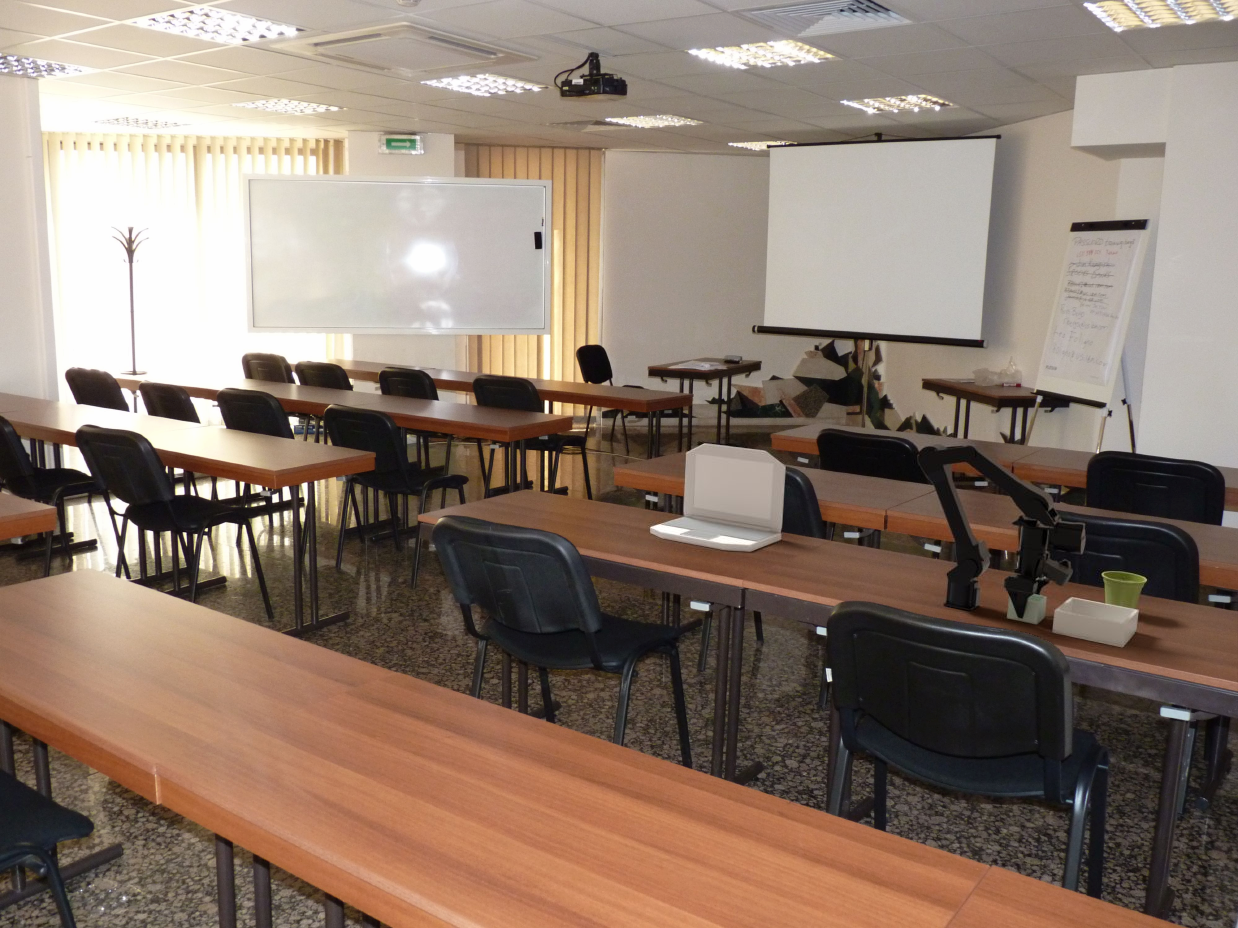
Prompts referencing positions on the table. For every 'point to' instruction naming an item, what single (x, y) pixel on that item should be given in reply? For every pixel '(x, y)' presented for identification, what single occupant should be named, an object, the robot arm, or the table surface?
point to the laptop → (729, 499)
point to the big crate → (1095, 621)
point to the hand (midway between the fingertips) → (1026, 613)
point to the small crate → (1030, 610)
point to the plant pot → (1122, 588)
